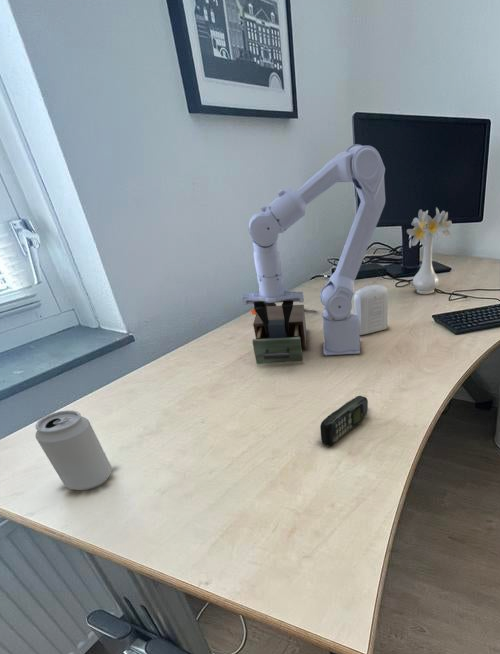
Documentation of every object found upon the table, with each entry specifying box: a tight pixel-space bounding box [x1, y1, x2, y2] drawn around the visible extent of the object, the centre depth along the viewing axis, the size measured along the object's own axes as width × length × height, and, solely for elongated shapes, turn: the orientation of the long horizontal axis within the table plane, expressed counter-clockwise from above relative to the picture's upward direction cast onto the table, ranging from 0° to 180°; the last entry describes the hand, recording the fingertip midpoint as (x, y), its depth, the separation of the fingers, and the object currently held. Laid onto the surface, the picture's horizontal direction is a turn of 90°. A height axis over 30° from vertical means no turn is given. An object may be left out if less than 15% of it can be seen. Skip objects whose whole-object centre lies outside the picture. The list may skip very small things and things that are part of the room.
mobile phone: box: [319, 395, 369, 447], centre depth 84 cm, size 5×3×15 cm
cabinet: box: [252, 304, 308, 351], centre depth 118 cm, size 14×13×8 cm
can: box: [35, 409, 113, 491], centre depth 71 cm, size 8×8×12 cm
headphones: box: [250, 302, 317, 316], centre depth 133 cm, size 17×5×20 cm
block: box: [268, 319, 287, 338], centre depth 109 cm, size 4×4×4 cm
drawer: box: [251, 325, 304, 365], centre depth 109 cm, size 17×11×6 cm
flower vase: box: [406, 206, 453, 295], centre depth 145 cm, size 13×18×25 cm
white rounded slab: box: [352, 284, 389, 336], centre depth 122 cm, size 10×4×12 cm, turn 123°
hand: (277, 332), depth 109 cm, fingers closed on block, 4 cm apart
